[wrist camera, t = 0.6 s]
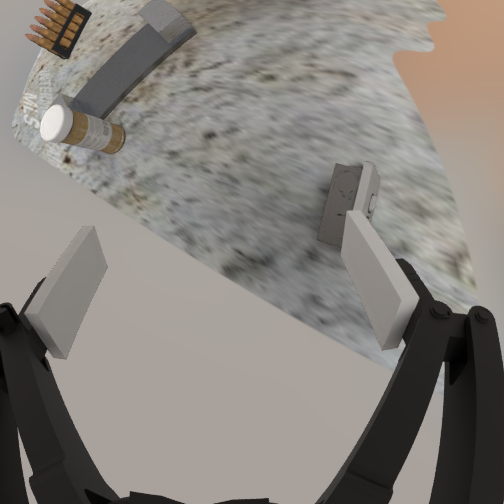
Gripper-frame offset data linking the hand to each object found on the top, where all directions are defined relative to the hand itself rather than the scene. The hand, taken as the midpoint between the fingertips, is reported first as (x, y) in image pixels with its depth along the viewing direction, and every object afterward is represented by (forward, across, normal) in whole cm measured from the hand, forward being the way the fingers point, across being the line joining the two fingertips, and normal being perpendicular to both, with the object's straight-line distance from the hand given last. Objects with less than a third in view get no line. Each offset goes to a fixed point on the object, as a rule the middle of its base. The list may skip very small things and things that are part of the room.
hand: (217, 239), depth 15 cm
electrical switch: (+18, +14, -8) cm, 24 cm away
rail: (+35, -16, +10) cm, 40 cm away
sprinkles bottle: (+30, -17, 0) cm, 35 cm away
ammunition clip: (+44, -29, +21) cm, 57 cm away
